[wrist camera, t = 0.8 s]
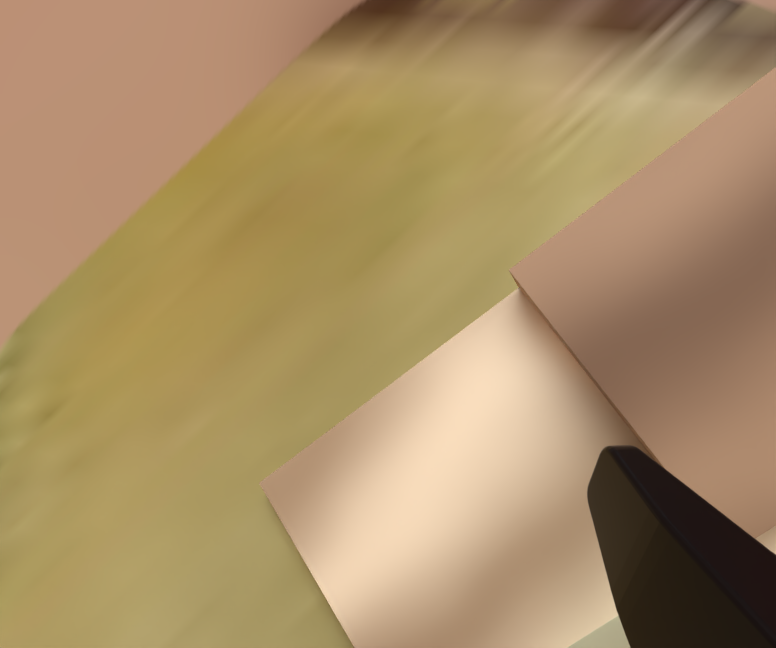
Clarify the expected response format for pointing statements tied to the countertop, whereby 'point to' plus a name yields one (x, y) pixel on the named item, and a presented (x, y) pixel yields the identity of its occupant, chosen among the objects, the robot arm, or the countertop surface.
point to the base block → (683, 305)
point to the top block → (605, 637)
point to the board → (463, 496)
